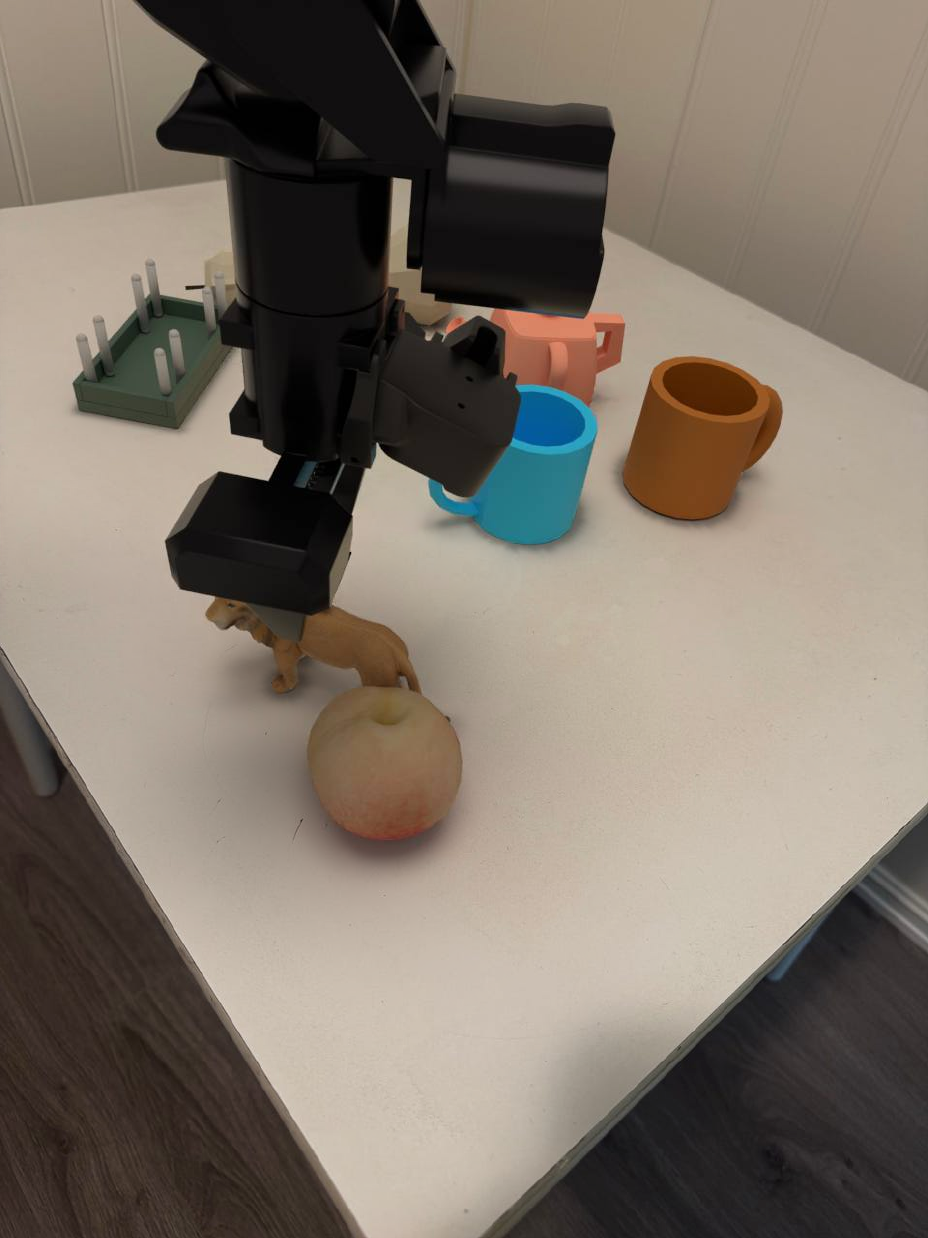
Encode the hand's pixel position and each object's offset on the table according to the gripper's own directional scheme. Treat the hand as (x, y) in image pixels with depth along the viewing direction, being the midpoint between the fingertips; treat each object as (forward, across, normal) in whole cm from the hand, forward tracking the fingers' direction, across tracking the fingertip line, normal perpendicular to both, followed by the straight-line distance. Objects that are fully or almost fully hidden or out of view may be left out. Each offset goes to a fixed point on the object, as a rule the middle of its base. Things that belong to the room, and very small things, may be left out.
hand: (318, 571), depth 45 cm
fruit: (+11, -6, -5) cm, 14 cm away
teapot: (+11, +36, -8) cm, 39 cm away
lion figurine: (+11, +1, 0) cm, 11 cm away
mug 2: (+11, +28, -23) cm, 38 cm away
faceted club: (+11, +44, +12) cm, 47 cm away
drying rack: (+11, +30, +22) cm, 39 cm away
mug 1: (+11, +20, -8) cm, 25 cm away
